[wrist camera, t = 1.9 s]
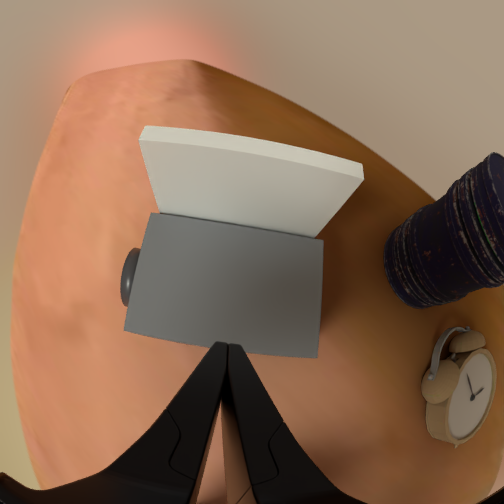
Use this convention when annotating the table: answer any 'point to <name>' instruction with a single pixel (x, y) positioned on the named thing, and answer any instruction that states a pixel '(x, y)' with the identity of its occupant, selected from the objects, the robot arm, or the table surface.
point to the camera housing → (225, 286)
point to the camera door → (246, 180)
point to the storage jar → (451, 241)
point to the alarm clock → (459, 387)
